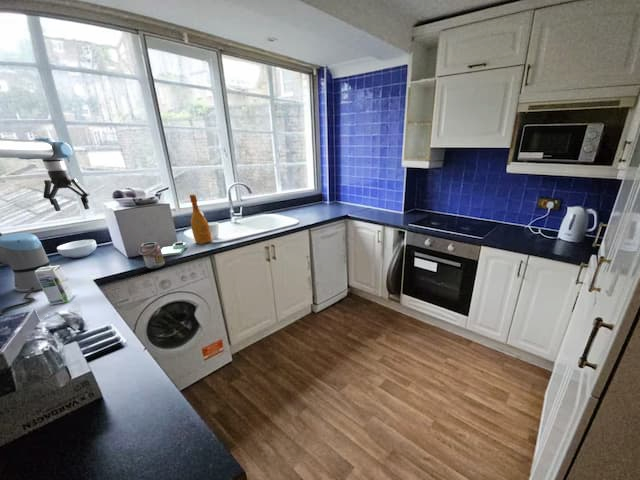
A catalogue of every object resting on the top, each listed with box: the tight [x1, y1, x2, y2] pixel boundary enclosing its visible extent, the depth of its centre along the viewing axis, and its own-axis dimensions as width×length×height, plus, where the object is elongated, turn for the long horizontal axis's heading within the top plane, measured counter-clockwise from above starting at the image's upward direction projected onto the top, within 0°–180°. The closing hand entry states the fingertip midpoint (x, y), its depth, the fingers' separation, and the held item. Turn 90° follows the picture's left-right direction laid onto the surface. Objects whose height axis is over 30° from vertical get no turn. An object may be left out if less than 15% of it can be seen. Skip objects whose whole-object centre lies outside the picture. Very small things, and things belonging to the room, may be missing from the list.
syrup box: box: [34, 264, 74, 306], centre depth 116 cm, size 6×6×14 cm
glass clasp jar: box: [138, 241, 166, 270], centre depth 149 cm, size 9×8×12 cm
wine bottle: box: [189, 194, 213, 245], centre depth 182 cm, size 10×10×30 cm
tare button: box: [174, 240, 184, 246], centre depth 175 cm, size 4×4×2 cm
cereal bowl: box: [56, 239, 98, 259], centre depth 168 cm, size 17×17×7 cm
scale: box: [160, 242, 187, 257], centre depth 172 cm, size 14×13×3 cm
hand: (73, 209), depth 164 cm, fingers open, 13 cm apart
